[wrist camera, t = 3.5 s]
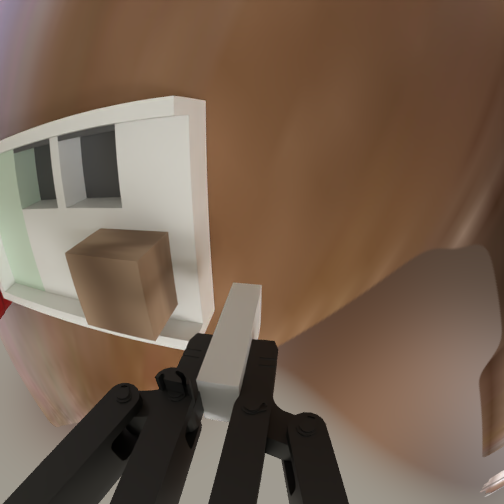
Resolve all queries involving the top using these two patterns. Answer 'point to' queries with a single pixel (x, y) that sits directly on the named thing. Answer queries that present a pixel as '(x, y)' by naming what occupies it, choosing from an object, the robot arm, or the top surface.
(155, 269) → the walnut block
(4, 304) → the plastic cup
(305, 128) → the top surface
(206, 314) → the box
